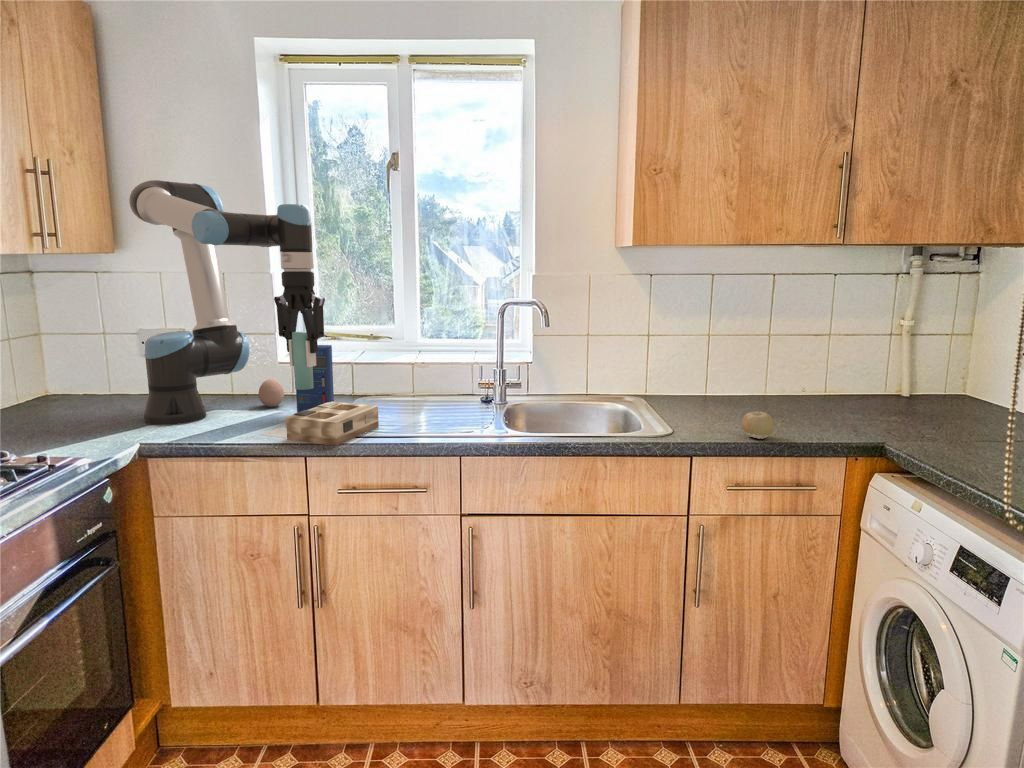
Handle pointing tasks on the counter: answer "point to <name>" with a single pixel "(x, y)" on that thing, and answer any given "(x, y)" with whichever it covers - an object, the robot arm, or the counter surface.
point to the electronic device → (318, 382)
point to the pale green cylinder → (301, 362)
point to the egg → (271, 393)
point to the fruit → (757, 423)
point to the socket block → (332, 423)
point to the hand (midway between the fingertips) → (303, 365)
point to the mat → (277, 433)
